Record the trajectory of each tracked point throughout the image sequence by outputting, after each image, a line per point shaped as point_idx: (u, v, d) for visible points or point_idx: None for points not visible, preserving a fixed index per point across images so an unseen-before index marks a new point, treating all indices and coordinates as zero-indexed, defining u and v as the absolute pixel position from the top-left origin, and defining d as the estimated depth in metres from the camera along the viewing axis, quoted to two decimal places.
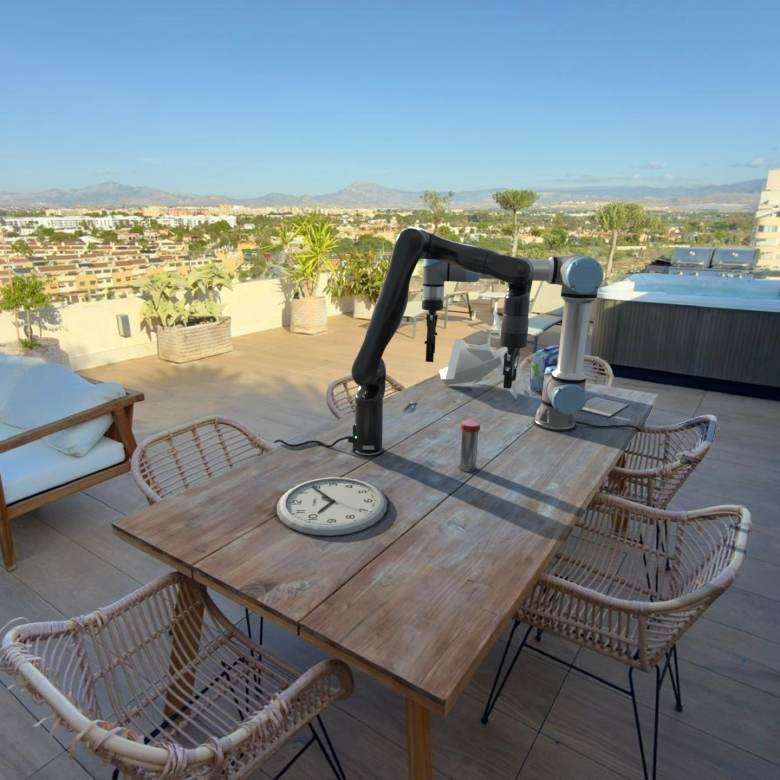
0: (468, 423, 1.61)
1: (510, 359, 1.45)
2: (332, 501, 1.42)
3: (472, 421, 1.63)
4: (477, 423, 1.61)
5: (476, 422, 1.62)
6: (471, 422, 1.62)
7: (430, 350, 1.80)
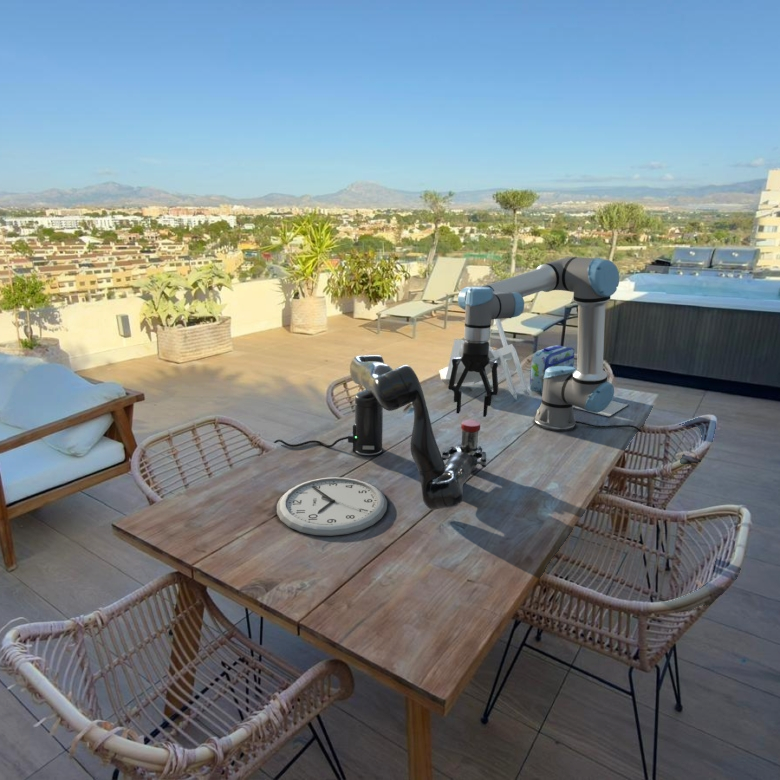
0: (468, 423, 1.61)
1: None
2: (332, 501, 1.42)
3: (472, 421, 1.63)
4: (477, 423, 1.61)
5: (476, 422, 1.62)
6: (471, 422, 1.62)
7: None
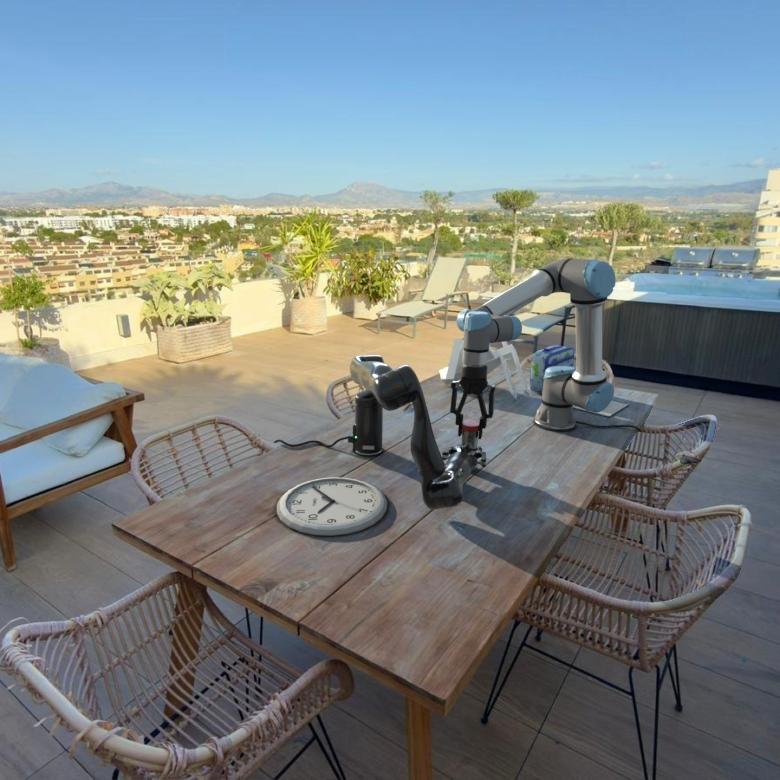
0: (468, 423, 1.61)
1: None
2: (332, 501, 1.42)
3: (472, 421, 1.63)
4: (477, 423, 1.61)
5: (476, 422, 1.62)
6: (471, 422, 1.62)
7: None
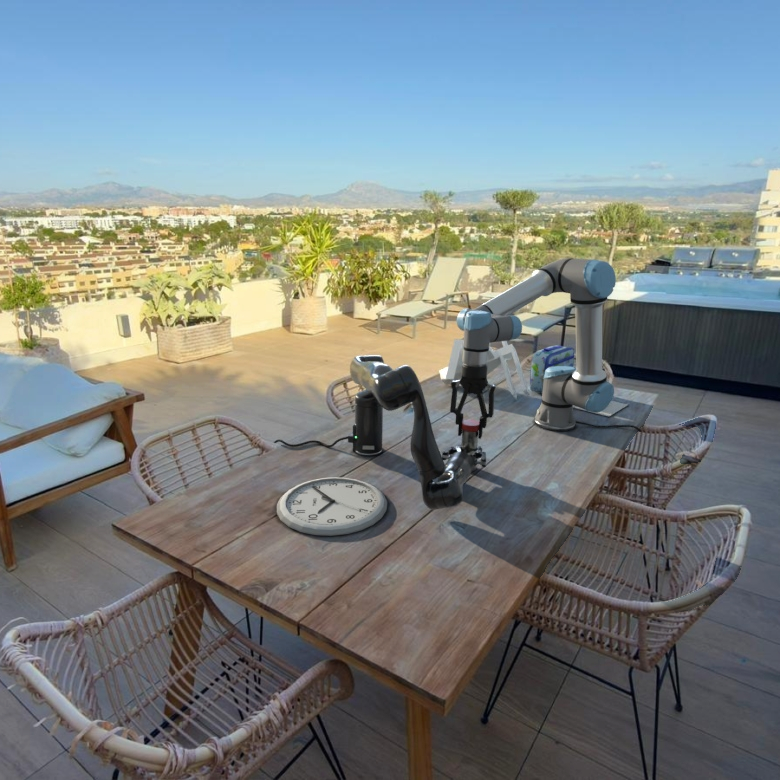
0: (473, 423, 1.61)
1: None
2: (332, 501, 1.42)
3: (465, 422, 1.61)
4: (467, 420, 1.63)
5: (465, 421, 1.63)
6: (469, 422, 1.61)
7: None
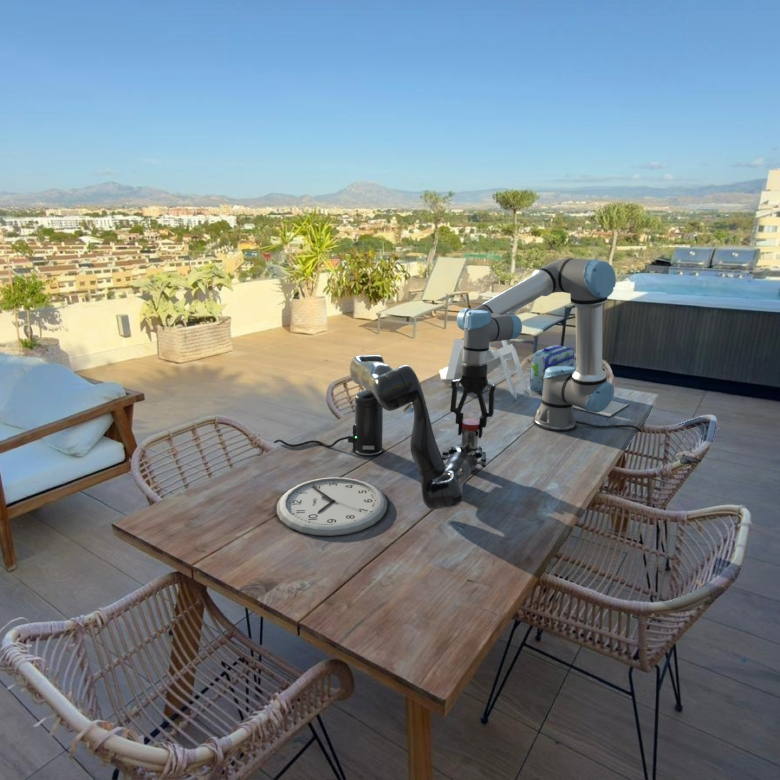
0: (470, 420, 1.62)
1: None
2: (332, 501, 1.42)
3: (475, 423, 1.60)
4: (468, 423, 1.60)
5: (471, 424, 1.60)
6: (472, 422, 1.61)
7: None
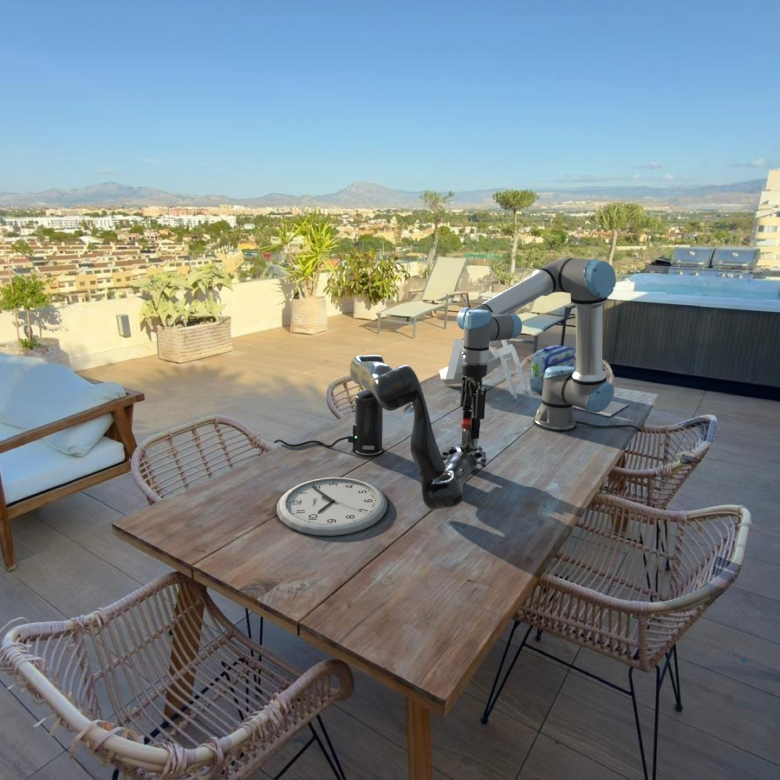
0: (469, 421, 1.61)
1: None
2: (332, 501, 1.42)
3: None
4: None
5: None
6: None
7: (478, 426, 1.57)
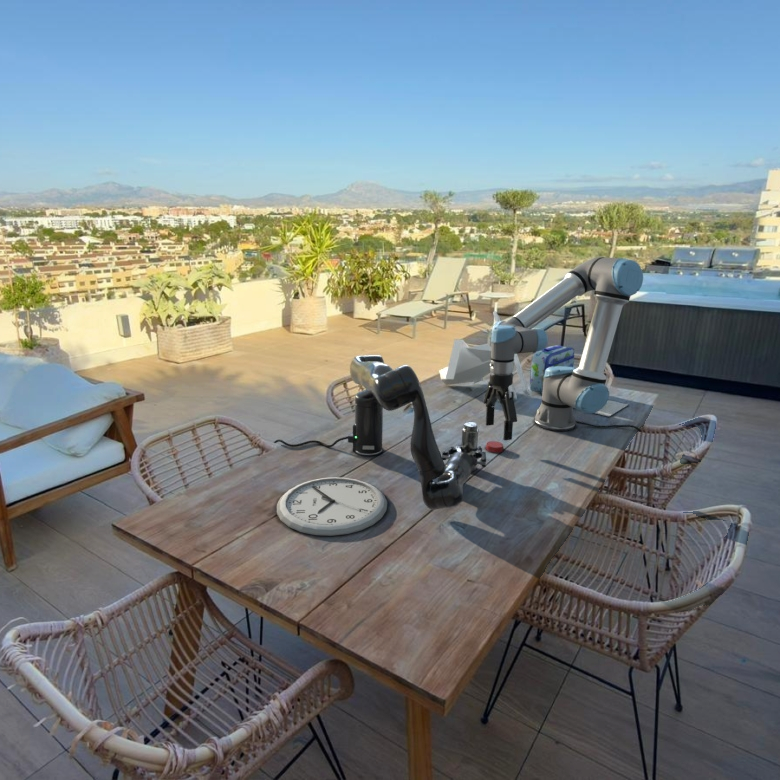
0: (492, 444, 1.80)
1: None
2: (332, 501, 1.42)
3: (495, 442, 1.82)
4: (500, 444, 1.80)
5: (498, 443, 1.81)
6: (494, 443, 1.81)
7: (511, 428, 1.70)
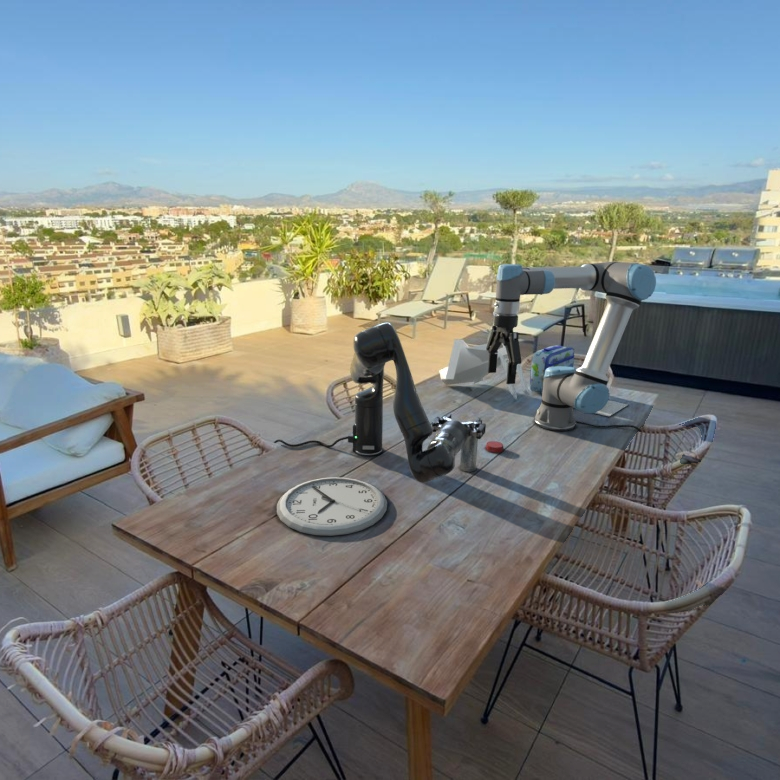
0: (492, 444, 1.80)
1: None
2: (332, 501, 1.42)
3: (495, 442, 1.82)
4: (500, 444, 1.80)
5: (498, 443, 1.81)
6: (494, 443, 1.81)
7: (514, 371, 1.64)
